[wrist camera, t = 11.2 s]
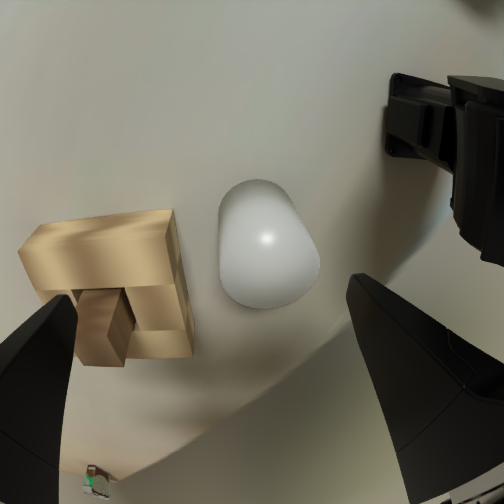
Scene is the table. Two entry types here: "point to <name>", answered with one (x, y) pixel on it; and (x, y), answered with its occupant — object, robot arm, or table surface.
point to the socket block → (119, 273)
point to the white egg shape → (264, 247)
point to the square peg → (103, 327)
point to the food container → (97, 482)
